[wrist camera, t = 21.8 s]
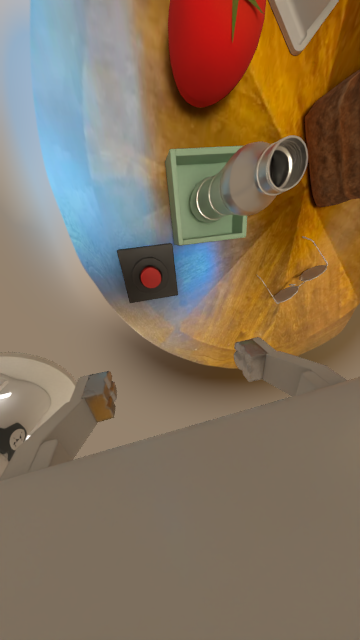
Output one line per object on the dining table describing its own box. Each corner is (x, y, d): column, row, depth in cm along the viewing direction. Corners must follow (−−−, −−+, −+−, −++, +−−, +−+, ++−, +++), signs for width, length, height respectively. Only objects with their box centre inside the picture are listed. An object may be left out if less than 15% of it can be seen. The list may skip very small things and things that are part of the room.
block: (130, 299, 37) (129, 306, 34) (118, 249, 33) (115, 251, 29) (176, 292, 39) (179, 297, 35) (170, 243, 34) (174, 244, 31)
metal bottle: (183, 186, 30) (248, 117, 13) (220, 177, 31) (331, 100, 13) (190, 227, 33) (250, 218, 16) (224, 219, 34) (318, 201, 16)
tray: (174, 244, 35) (179, 245, 30) (165, 161, 29) (169, 149, 25) (233, 236, 36) (246, 237, 32) (236, 157, 31) (251, 145, 26)
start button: (142, 287, 33) (143, 289, 32) (138, 267, 32) (138, 269, 30) (161, 284, 34) (162, 286, 32) (158, 265, 32) (159, 266, 31)
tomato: (150, 89, 25) (158, 0, 16) (182, -18, 22) (216, -212, 12) (210, 139, 29) (246, 93, 19) (245, 55, 26) (308, -51, 16)
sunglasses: (268, 301, 45) (280, 305, 40) (251, 275, 42) (262, 277, 38) (314, 264, 43) (333, 264, 39) (299, 235, 41) (318, 231, 36)
